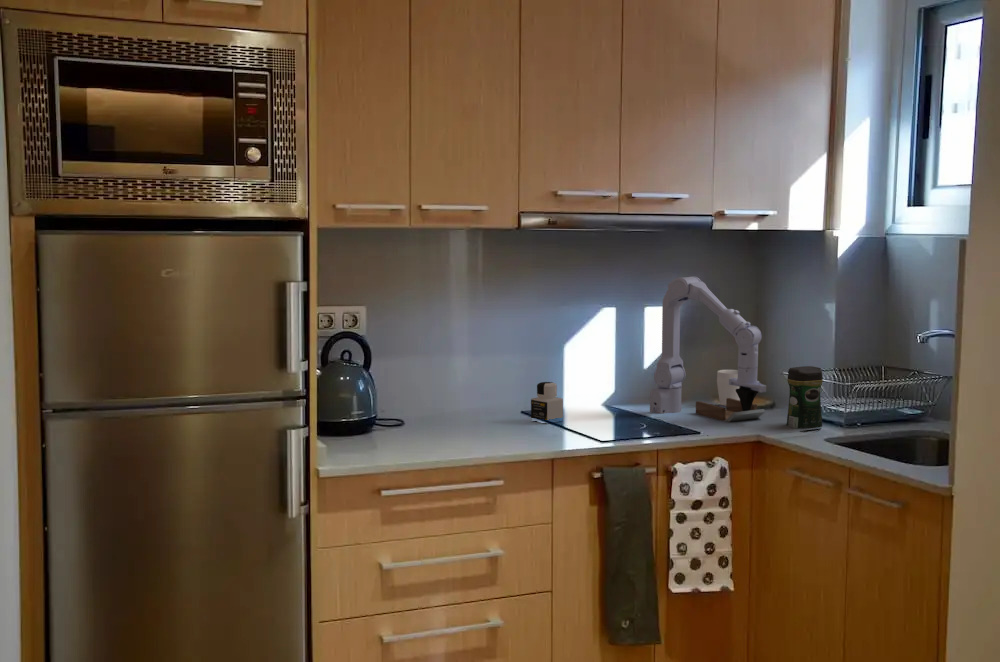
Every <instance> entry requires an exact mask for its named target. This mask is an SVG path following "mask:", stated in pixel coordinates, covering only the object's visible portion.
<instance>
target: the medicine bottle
mask: <svg viewBox="0 0 1000 662" xmlns="http://www.w3.org/2000/svg"><path fill="white" fill-rule="evenodd" d="M557 389H558V385H557V384H556V383H555V382H552V381H541V382H539V383H537V385H536V396H537V397H531V398H530V419H531V418H537V419H544V420H549V419H555V418H562V417H563V418H564V399H563V398H561V397H557V393H558V392H557V391H558V390H557Z"/></svg>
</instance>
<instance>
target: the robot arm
mask: <svg viewBox="0 0 1000 662" xmlns="http://www.w3.org/2000/svg"><path fill="white" fill-rule="evenodd" d="M688 300H697V301H700V302H701V303H703V305H705V306H706V307H708V308H709V310H711V311H712V312H713V314H715V315H717V316H718V321H719V324H721V326H723V328H725V330H726V331H728V333H730V334H731V335H732V336H733V337H734V340H735V343H736V345H737V347H738V349H737V350H738V351H737V353H738V354H737V370H738V379H736V378H731V379H729V385H734V386H739V387H740V388H739V389H736V393H737V394H738V397H739V399H740V402H741V406H742V410H743V411H750V409H751V406H752V404H754V403H753V402H754V400H755V398H756V396H757V395H758V393H766V392H767V385H766V384H763V383H761V382H760V381H759V380H758V372H759V371H758V370H759V369H758V367H759V344H760V343H761V341H762V339H763V335H762V332H761V330H760V329H759V327H757V326H756V325H751V324H752V323H751V322H750V321H746V319H744V318H743V317H742V316H741V312H740V311H739V310H738V309H734V308H727V307H726V306H725V305H724V303H722V302H721V300H720V299H718V297H717V296H716V295H715V294H714V293H713V292H712V291H711V290H710V289H709V288H708V286H707V284H706V283H705V282H704V281H702V280H701V279H700V278H699V277H697V276H695V275H691V276H688V277H687V276H685V277H684V276H683V277H676V278H674V279H673V280H671V281H670V282H669V283H668V284H667V290H666V292H665V293H664V296H663V299H662V306H661V307H662V308H661V309H662V310H661V311H662V312H661V313H662V315H661V316H662V318H661V319H662V320H661V321H662V322H661V323H662V325H661V326H662V327H661V334H662V335H661V356H660V358H659V359H658V361H657V363H656V369H655V372H654V375H653V376H654V377H653V378H654V382H655V384H657V387H655V388H653V389H651V391H650V394H649V413H656V414H659V415H663V414H677V413H681V412H682V385H683V382H684V381H685V379H686V377H687V376H686V369H685V367H684V360H683V358H682V357H681V356H680V344H681V343H680V341H681V340H680V338H681V337H680V335H681V334H680V333H681V331H680V330H681V307H682V305H683V304H685V303H686V302H687V301H688Z"/></svg>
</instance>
